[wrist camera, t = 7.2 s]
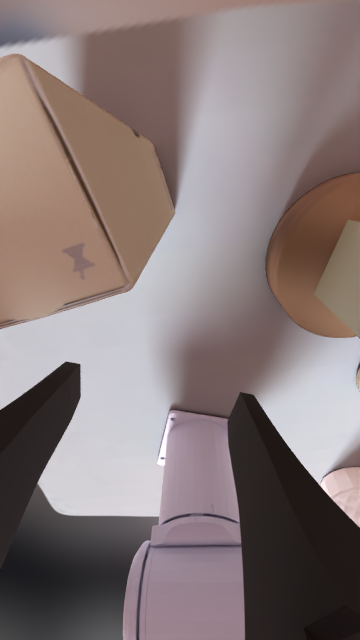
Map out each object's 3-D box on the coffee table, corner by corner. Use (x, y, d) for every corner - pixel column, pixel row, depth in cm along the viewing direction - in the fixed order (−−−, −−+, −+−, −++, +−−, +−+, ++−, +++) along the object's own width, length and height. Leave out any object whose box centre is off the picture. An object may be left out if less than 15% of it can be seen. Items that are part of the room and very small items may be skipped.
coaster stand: (366, 327, 20) (391, 349, 18) (247, 304, 20) (255, 323, 17) (455, 191, 15) (509, 194, 13) (300, 155, 15) (323, 150, 12)
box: (153, 139, 15) (32, 17, 4) (176, 215, 17) (146, 291, 6) (75, 171, 16) (-212, 155, 5) (106, 239, 18) (-40, 345, 7)
